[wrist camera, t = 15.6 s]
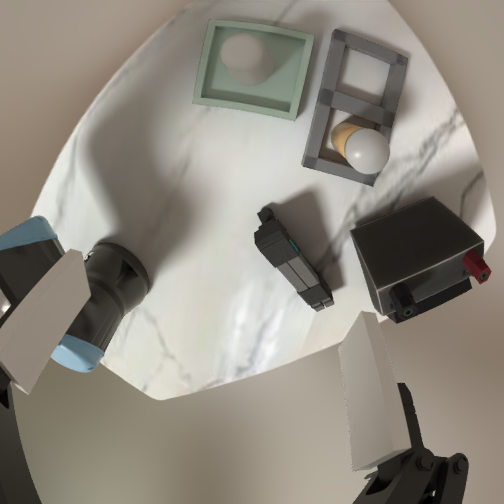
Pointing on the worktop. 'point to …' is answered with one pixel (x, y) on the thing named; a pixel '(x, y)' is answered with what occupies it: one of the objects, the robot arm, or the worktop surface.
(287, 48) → the tray
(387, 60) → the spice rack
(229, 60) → the salt shaker
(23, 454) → the robot arm
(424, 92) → the worktop surface
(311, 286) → the gun
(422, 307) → the voltmeter
